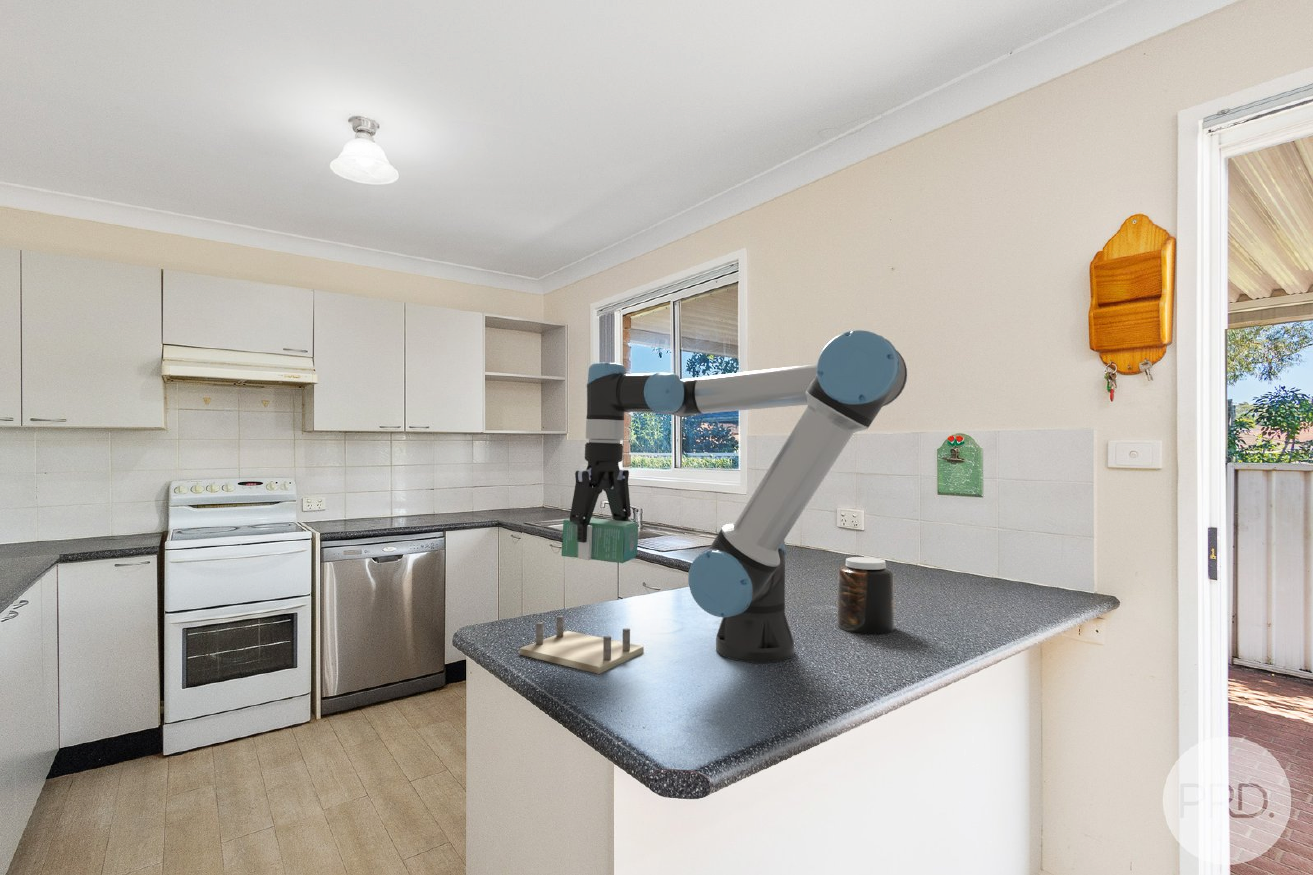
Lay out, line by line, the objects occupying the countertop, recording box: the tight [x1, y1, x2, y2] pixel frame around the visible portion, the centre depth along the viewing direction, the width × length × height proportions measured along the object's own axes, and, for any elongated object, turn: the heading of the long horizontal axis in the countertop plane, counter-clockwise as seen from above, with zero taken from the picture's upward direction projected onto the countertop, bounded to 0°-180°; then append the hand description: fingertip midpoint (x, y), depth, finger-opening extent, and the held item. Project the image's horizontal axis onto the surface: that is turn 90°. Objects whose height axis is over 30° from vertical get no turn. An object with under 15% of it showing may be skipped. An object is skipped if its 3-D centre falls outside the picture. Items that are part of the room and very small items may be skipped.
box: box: [561, 517, 639, 564], centre depth 126 cm, size 7×14×8 cm, turn 70°
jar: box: [837, 556, 895, 635], centre depth 141 cm, size 12×12×15 cm
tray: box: [519, 615, 645, 675], centre depth 122 cm, size 19×14×5 cm
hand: (600, 555), depth 126 cm, fingers closed on box, 8 cm apart
